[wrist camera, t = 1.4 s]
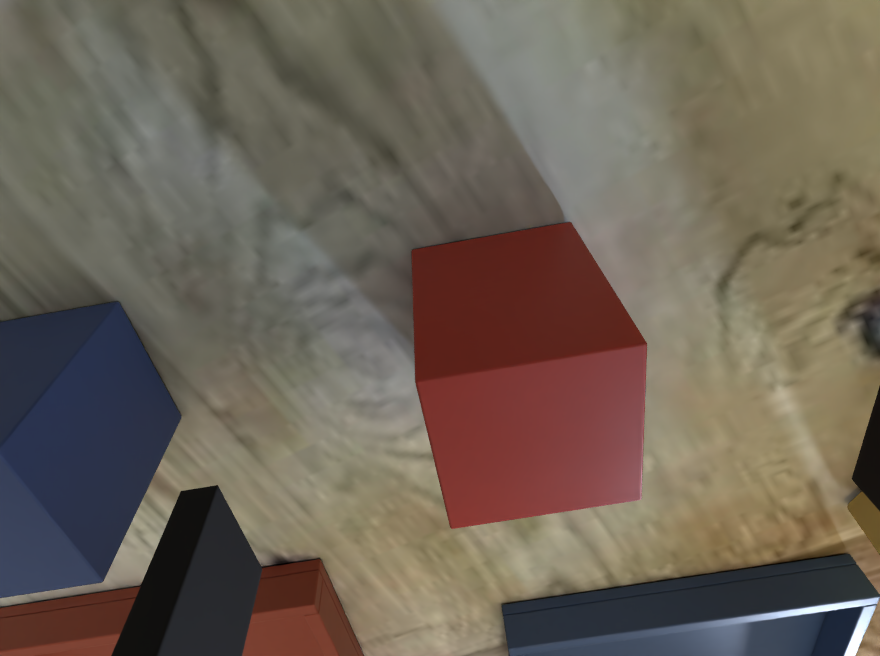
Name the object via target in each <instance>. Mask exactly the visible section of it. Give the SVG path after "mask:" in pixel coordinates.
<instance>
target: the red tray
mask: <svg viewBox="0 0 880 656" xmlns="http://www.w3.org/2000/svg"><path fill="white" fill-rule="evenodd" d="M139 589H140V587H134V588H127V589H121V590H114V591H108V592H101V593H95V594H88V595H82V596H75V597H68V598H62V599H55V600H49V601H42V602H36V603H29V604H23V605H16V606H10V607H3V608H0V656H111V655H112V653H113V650H114V648H115V646H116V643H117V641H118V639H119V636H120V634H121V631H122V629H123V627H124V624H125V622H126V620H127V617H128V615H129V613H130V610H131V608H132V606H133V603H134V601H135V598H136V596H137V594H138V591H139ZM242 656H364V655H363V653H362V651H361V648H360V646H359V644H358V642H357V640H356V637H355V635H354V633H353V631H352V628H351V626H350V624H349V622H348V620H347V617H346V615H345V613H344V611H343V608H342V606H341V604H340V602H339V600H338V597H337V595H336V593H335V591H334V589H333V586H332V584H331V582H330V580H329V577H328V575H327V573H326V571H325V569H324V566H323V564H322V562H321V560H320V559H317V560H311V561H304V562H298V563H291V564H285V565H278V566H271V567H265V568H262V573H261V577H260V582H259V586H258V590H257V594H256V599H255V603H254V607H253V612H252V616H251V620H250V624H249V629H248V633H247V637H246V641H245V646H244V650H243V654H242Z"/></svg>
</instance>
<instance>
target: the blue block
mask: <svg viewBox="0 0 880 656" xmlns="http://www.w3.org/2000/svg"><path fill="white" fill-rule="evenodd" d="M180 420H181V415H180V413H179V411H178V410H177V408H176V406H175V404H174V402H173V400H172V398H171V397H170V395H169V393H168V391H167V389H166V387H165V386H164V384H163V382H162V380H161V378H160V376H159V375H158V373H157V371H156V369H155V367H154V365H153V364H152V362H151V360H150V358H149V356H148V354H147V352H146V351H145V349H144V347H143V345H142V343H141V341H140V340H139V338H138V336H137V334H136V332H135V330H134V329H133V327H132V325H131V323H130V321H129V319H128V318H127V316H126V314H125V312H124V310H123V308H122V307H121V305H120V303H119V302H111V303H106V304H100V305H94V306H89V307H83V308H77V309H72V310H66V311H60V312H54V313H49V314H43V315H37V316H32V317H26V318H20V319H14V320H9V321H3V322H0V598H4V597H11V596H17V595H24V594H30V593H37V592H43V591H50V590H56V589H63V588H69V587H76V586H82V585H89V584H95V583H101V582H103V581H104V579H105V577H106V575H107V572H108V570H109V568H110V566H111V564H112V562H113V560H114V558H115V556H116V554H117V551H118V549H119V547H120V545H121V543H122V541H123V539H124V537H125V535H126V533H127V531H128V528H129V526H130V524H131V522H132V520H133V518H134V516H135V514H136V512H137V510H138V508H139V505H140V503H141V501H142V499H143V497H144V495H145V493H146V491H147V489H148V487H149V484H150V482H151V480H152V478H153V476H154V474H155V472H156V470H157V468H158V466H159V464H160V461H161V459H162V457H163V455H164V453H165V451H166V449H167V447H168V445H169V443H170V440H171V438H172V436H173V434H174V432H175V430H176V428H177V426H178V424H179V422H180Z"/></svg>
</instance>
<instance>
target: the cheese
mask: <svg viewBox="0 0 880 656" xmlns="http://www.w3.org/2000/svg"><path fill="white" fill-rule="evenodd" d="M848 510H849V511H850V513H851V514H852V516H853V517H854V519H855V520H856V521H857V523H858V524H859V526H860V527H861V529H862V530H863V531H864V533H865V534H866V536H867V537H868V539H869V540H870V542H871V543H872V544H873V546H874V547H875V549H876V550H877V552H878V553H879V555H880V511H879V510H878V509H877V508H876V507H875V505H874V504H873V503H872V502H871V501H870V500H869V498H868V497H867V496H866V495H865V494H864V493H863V492H860V493H859V494H858V495H857V496H856V497H855V498H854V499H853V500H852V501H851V502H850V503H849V504H848Z"/></svg>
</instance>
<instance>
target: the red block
mask: <svg viewBox="0 0 880 656" xmlns="http://www.w3.org/2000/svg"><path fill="white" fill-rule="evenodd" d="M412 286H413V320H414V354H415V383H416V387H417V391H418V395H419V399H420V403H421V408H422V412H423V416H424V420H425V424H426V428H427V433H428V437H429V441H430V445H431V449H432V453H433V458H434V462H435V466H436V470H437V474H438V478H439V482H440V487H441V491H442V495H443V499H444V503H445V507H446V512H447V516H448V520H449V524H450V527H451V529H454V528H461V527H467V526H474V525H480V524H487V523H493V522H500V521H506V520H513V519H519V518H526V517H532V516H539V515H546V514H552V513H559V512H565V511H572V510H578V509H585V508H591V507H598V506H604V505H611V504H617V503H624V502H630V501H637V500H641V498H642V470H643V442H644V414H645V386H646V358H647V343H646V341H645V339H644V338H643V336H642V335H641V333H640V331H639V330H638V328H637V327H636V325H635V323H634V322H633V320H632V319H631V317H630V316H629V314H628V312H627V311H626V309H625V308H624V306H623V304H622V303H621V301H620V300H619V298H618V296H617V295H616V293H615V292H614V290H613V288H612V287H611V285H610V284H609V282H608V280H607V279H606V277H605V276H604V274H603V273H602V271H601V269H600V268H599V266H598V265H597V263H596V261H595V260H594V258H593V257H592V255H591V253H590V252H589V250H588V249H587V247H586V245H585V244H584V242H583V241H582V239H581V237H580V236H579V234H578V233H577V231H576V229H575V228H574V226H573V225H572V223H571V222H567V223H562V224H556V225H550V226H545V227H539V228H533V229H527V230H522V231H516V232H510V233H505V234H499V235H493V236H488V237H482V238H476V239H470V240H465V241H459V242H453V243H448V244H442V245H436V246H431V247H425V248H419V249H413V250H412Z"/></svg>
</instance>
